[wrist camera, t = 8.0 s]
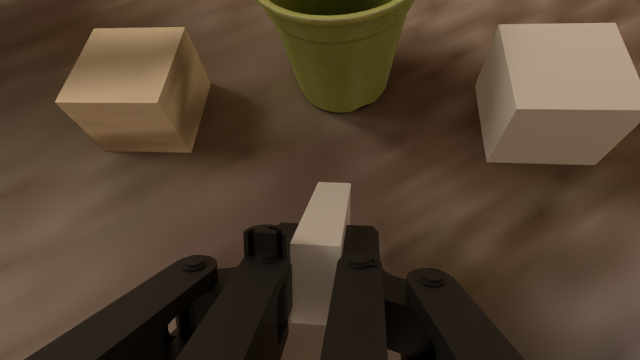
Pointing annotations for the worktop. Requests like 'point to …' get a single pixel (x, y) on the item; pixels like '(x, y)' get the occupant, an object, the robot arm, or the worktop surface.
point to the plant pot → (339, 47)
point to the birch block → (138, 89)
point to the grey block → (556, 93)
